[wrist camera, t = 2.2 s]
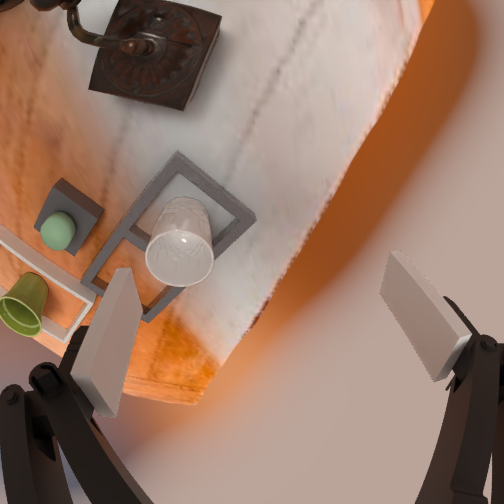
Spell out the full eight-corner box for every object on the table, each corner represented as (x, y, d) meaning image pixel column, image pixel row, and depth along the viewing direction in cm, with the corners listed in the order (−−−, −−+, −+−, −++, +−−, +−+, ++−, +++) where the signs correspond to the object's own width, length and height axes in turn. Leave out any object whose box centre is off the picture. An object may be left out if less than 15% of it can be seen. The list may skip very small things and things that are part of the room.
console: (41, 217, 38) (33, 227, 35) (61, 177, 35) (53, 186, 33) (80, 245, 42) (74, 256, 39) (104, 208, 39) (98, 219, 36)
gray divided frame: (83, 275, 45) (79, 282, 43) (177, 150, 36) (175, 154, 34) (149, 315, 51) (148, 323, 50) (254, 213, 43) (256, 220, 41)
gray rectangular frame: (-14, 277, 42) (-20, 287, 39) (0, 223, 37) (-8, 233, 34) (69, 333, 52) (65, 344, 50) (97, 291, 47) (93, 303, 45)
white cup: (180, 250, 45) (176, 296, 37) (145, 214, 40) (131, 255, 32) (223, 222, 43) (227, 265, 35) (188, 181, 39) (183, 217, 31)
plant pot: (34, 256, 41) (13, 290, 34) (65, 295, 47) (51, 331, 40) (7, 273, 42) (-12, 305, 35) (36, 308, 48) (22, 341, 41)
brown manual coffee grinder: (224, 22, 27) (238, -17, 13) (191, 103, 33) (176, 134, 18) (106, -2, 23) (34, -37, 8) (78, 77, 28) (-8, 99, 13)
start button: (49, 220, 37) (36, 238, 33) (61, 197, 35) (47, 214, 31) (73, 237, 39) (61, 256, 35) (86, 215, 37) (74, 233, 34)
